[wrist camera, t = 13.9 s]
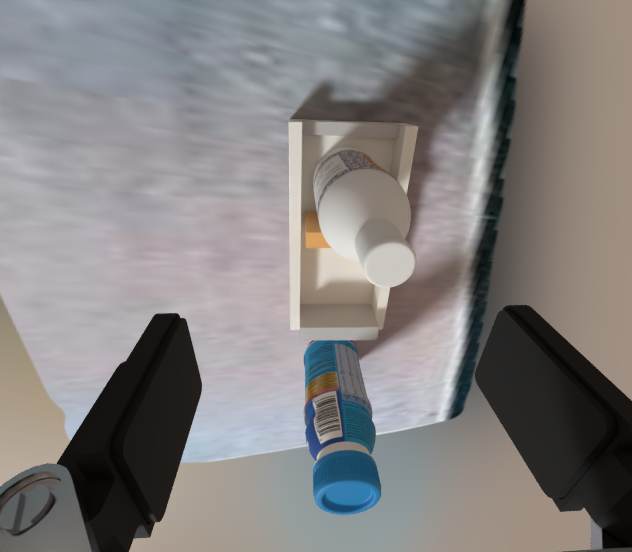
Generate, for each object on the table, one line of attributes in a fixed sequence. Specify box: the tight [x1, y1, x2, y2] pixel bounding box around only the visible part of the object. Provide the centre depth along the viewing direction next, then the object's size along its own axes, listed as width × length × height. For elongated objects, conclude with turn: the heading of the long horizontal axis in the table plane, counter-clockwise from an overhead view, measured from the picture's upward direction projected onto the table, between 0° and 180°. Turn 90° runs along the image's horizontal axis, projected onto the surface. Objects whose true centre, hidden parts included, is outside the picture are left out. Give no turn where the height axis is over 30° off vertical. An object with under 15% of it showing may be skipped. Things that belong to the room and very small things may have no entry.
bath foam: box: [313, 147, 416, 288], centre depth 26 cm, size 7×7×20 cm
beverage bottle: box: [304, 340, 381, 515], centre depth 40 cm, size 8×8×20 cm
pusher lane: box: [289, 119, 419, 340], centre depth 36 cm, size 24×12×6 cm, turn 178°
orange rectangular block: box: [305, 212, 331, 248], centre depth 34 cm, size 2×9×6 cm, turn 88°
